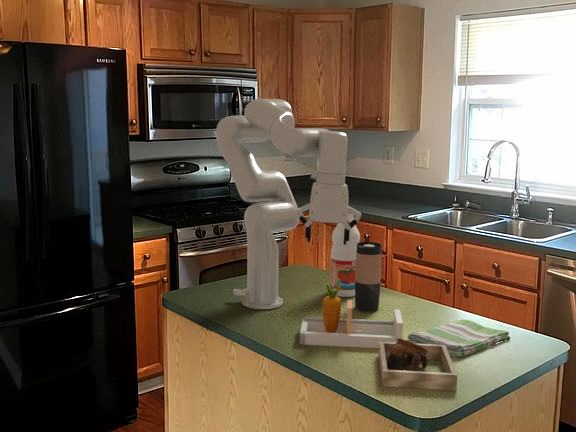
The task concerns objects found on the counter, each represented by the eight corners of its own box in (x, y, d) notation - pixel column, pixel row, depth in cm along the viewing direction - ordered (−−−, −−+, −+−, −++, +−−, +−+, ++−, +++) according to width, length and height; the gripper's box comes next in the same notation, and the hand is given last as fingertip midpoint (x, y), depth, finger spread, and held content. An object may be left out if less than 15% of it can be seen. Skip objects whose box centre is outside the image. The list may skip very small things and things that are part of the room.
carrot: (342, 336, 171) (344, 282, 169) (336, 342, 167) (339, 287, 164) (324, 333, 173) (326, 279, 170) (318, 339, 168) (320, 284, 166)
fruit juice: (346, 287, 217) (349, 206, 212) (364, 295, 209) (367, 210, 204) (324, 291, 212) (326, 208, 207) (341, 299, 204) (344, 212, 200)
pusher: (346, 343, 166) (347, 308, 164) (346, 333, 173) (347, 300, 171) (362, 344, 165) (363, 309, 164) (361, 334, 173) (363, 300, 171)
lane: (299, 344, 165) (300, 318, 164) (302, 329, 176) (303, 305, 175) (401, 349, 163) (403, 323, 162) (398, 334, 174) (399, 309, 172)
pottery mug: (375, 366, 153) (388, 334, 155) (409, 381, 155) (422, 349, 157) (396, 374, 142) (409, 339, 143) (432, 390, 143) (445, 355, 145)
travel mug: (378, 305, 199) (381, 242, 195) (379, 313, 191) (382, 247, 188) (354, 304, 199) (356, 241, 196) (354, 311, 192) (356, 246, 189)
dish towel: (405, 341, 170) (405, 328, 170) (458, 323, 185) (459, 312, 184) (459, 361, 157) (460, 347, 157) (511, 341, 171) (512, 328, 171)
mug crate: (382, 386, 141) (383, 371, 141) (378, 355, 159) (379, 341, 158) (456, 390, 140) (457, 375, 139) (444, 358, 157) (445, 344, 157)
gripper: (296, 178, 166) (293, 243, 169) (363, 183, 164) (359, 248, 167) (299, 174, 173) (296, 236, 176) (363, 178, 171) (359, 241, 175)
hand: (326, 242), depth 172 cm, fingers open, 9 cm apart
